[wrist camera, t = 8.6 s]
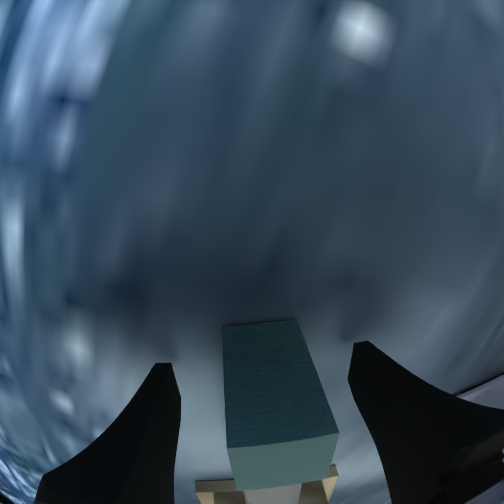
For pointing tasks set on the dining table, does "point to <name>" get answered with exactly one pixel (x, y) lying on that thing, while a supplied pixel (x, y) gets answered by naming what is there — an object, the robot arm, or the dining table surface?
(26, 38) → the dining table surface
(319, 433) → the shaft
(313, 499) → the cradle
